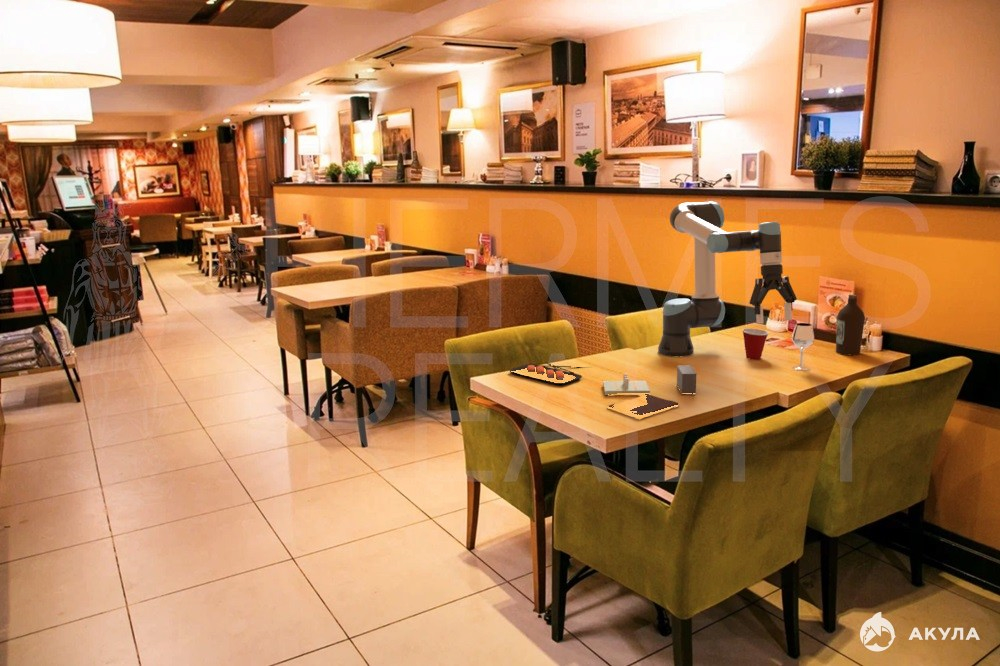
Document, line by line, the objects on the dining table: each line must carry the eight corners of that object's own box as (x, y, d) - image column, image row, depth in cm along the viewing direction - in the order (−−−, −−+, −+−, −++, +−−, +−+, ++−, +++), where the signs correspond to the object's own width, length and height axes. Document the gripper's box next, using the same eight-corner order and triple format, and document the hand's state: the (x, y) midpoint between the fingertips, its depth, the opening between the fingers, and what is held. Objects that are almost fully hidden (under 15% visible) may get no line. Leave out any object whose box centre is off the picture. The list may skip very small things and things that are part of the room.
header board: (602, 386, 271) (603, 372, 270) (645, 385, 270) (645, 371, 269) (605, 396, 260) (605, 381, 258) (649, 395, 258) (650, 381, 257)
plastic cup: (771, 361, 297) (773, 333, 294) (745, 361, 297) (746, 333, 294) (762, 354, 307) (764, 327, 305) (737, 354, 308) (738, 327, 305)
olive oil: (855, 349, 311) (860, 292, 305) (866, 355, 300) (871, 297, 295) (830, 349, 311) (834, 293, 305) (840, 356, 301) (845, 297, 295)
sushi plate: (506, 375, 291) (506, 366, 290) (554, 359, 312) (554, 351, 311) (561, 389, 271) (561, 379, 270) (608, 371, 291) (608, 362, 291)
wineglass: (805, 372, 280) (808, 327, 276) (785, 368, 286) (788, 324, 282) (815, 368, 285) (819, 324, 281) (796, 364, 291) (799, 321, 287)
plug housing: (676, 386, 269) (677, 365, 267) (690, 385, 268) (690, 365, 266) (681, 395, 258) (682, 373, 256) (695, 395, 258) (696, 373, 256)
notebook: (606, 410, 247) (606, 404, 247) (645, 397, 258) (645, 392, 258) (639, 421, 235) (639, 415, 235) (678, 408, 247) (678, 402, 246)
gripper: (751, 265, 255) (755, 324, 256) (805, 261, 264) (807, 319, 265) (737, 266, 262) (740, 324, 263) (789, 263, 271) (792, 318, 272)
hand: (774, 321), depth 264 cm, fingers open, 13 cm apart
